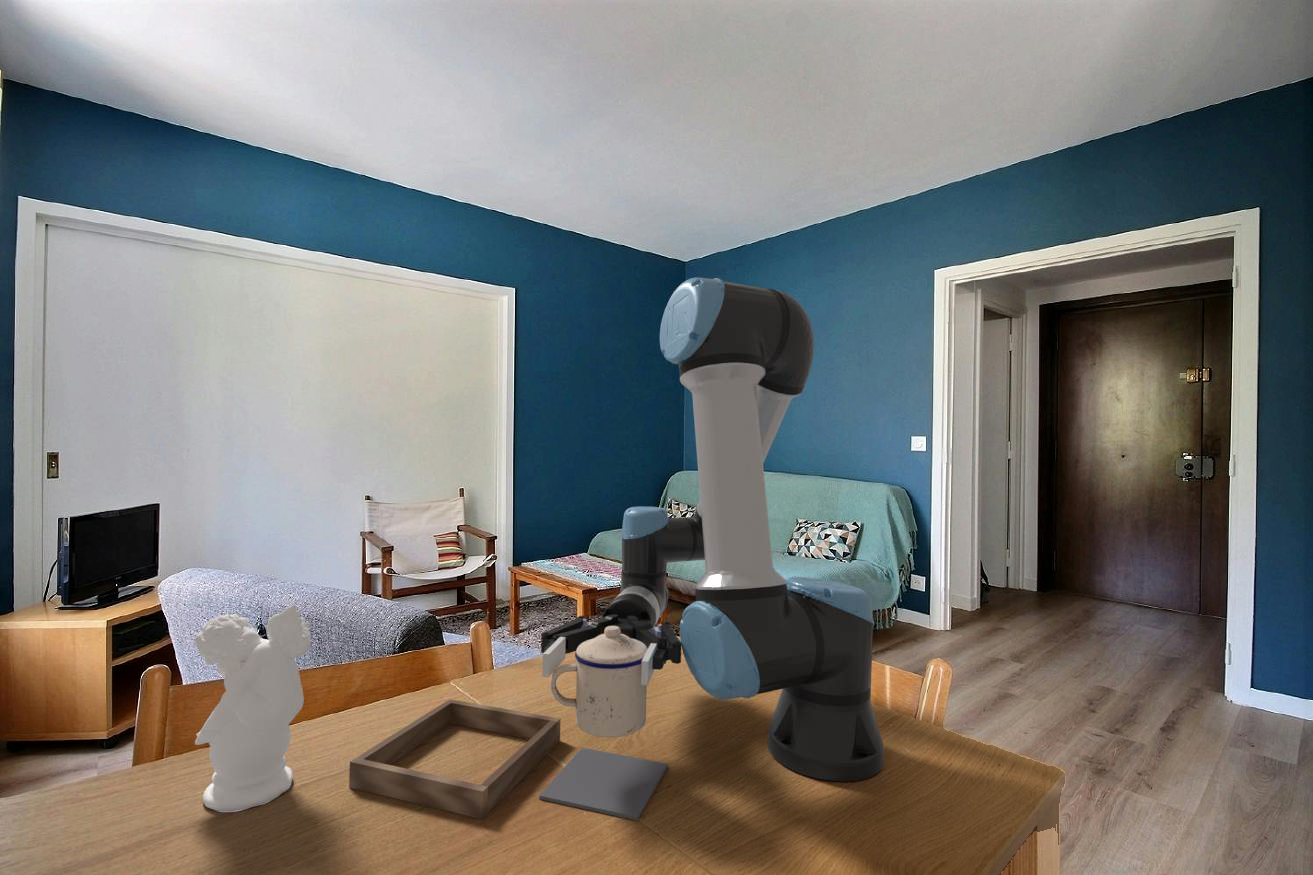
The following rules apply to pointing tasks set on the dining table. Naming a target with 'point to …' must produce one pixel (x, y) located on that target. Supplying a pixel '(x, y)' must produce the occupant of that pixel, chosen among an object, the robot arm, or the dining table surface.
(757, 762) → the dining table surface
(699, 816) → the dining table surface
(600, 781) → the charcoal mat
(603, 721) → the teacup with lid
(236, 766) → the cherub figurine
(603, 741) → the dining table surface
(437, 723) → the walnut box
